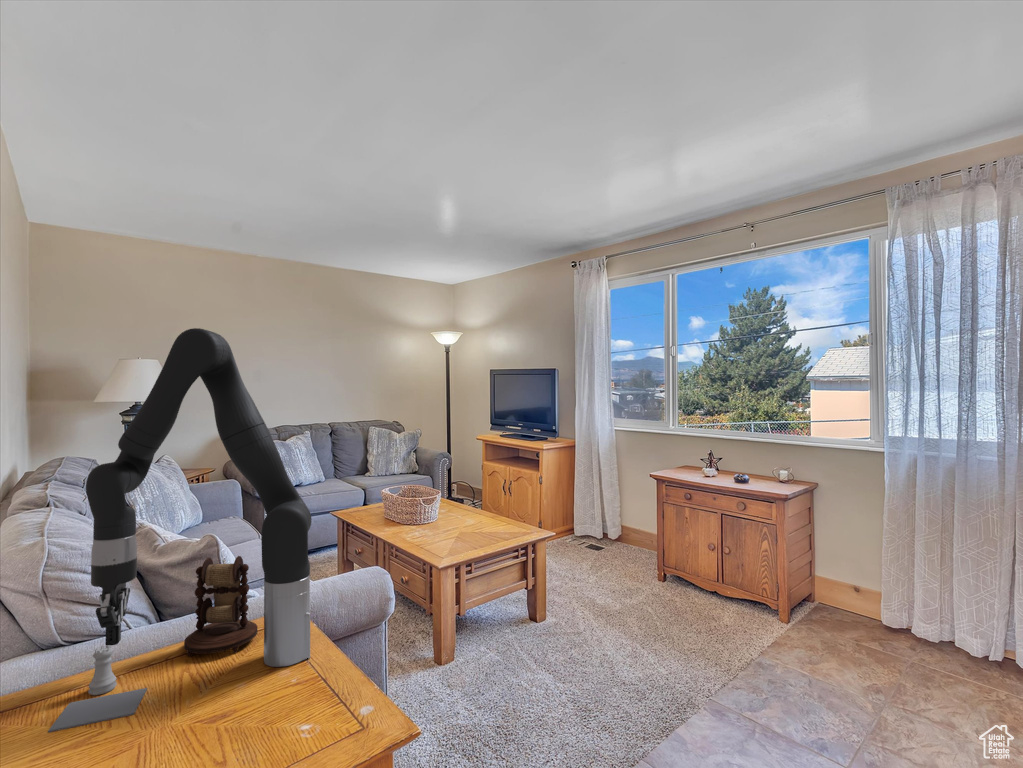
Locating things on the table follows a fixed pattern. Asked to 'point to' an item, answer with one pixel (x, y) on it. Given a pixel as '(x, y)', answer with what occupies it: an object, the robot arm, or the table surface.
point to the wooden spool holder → (221, 609)
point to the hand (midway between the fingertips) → (113, 643)
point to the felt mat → (99, 709)
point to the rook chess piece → (102, 672)
